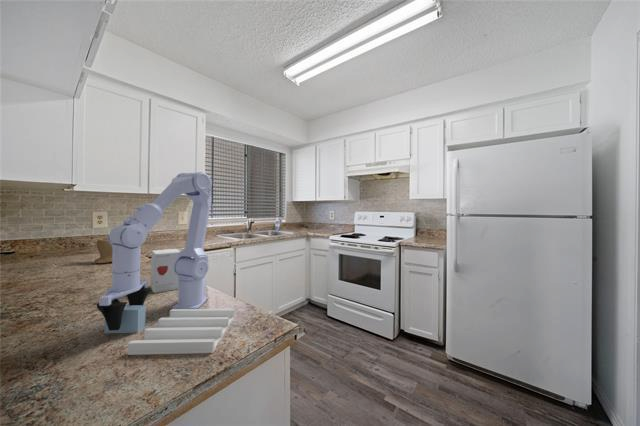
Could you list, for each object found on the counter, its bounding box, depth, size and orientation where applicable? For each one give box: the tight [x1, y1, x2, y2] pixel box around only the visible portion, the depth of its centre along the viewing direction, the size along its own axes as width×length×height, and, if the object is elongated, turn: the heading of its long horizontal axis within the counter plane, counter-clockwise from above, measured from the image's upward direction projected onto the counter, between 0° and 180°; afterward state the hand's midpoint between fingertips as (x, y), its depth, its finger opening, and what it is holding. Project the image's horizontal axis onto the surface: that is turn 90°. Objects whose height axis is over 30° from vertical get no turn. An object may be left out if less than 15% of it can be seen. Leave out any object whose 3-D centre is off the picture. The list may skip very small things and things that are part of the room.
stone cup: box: [93, 236, 113, 264], centre depth 138 cm, size 15×12×15 cm
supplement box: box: [150, 248, 181, 294], centre depth 96 cm, size 9×9×15 cm
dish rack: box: [126, 308, 236, 356], centre depth 63 cm, size 18×18×2 cm
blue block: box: [103, 304, 147, 334], centre depth 63 cm, size 3×8×6 cm, turn 95°
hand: (125, 322), depth 63 cm, fingers open, 7 cm apart
